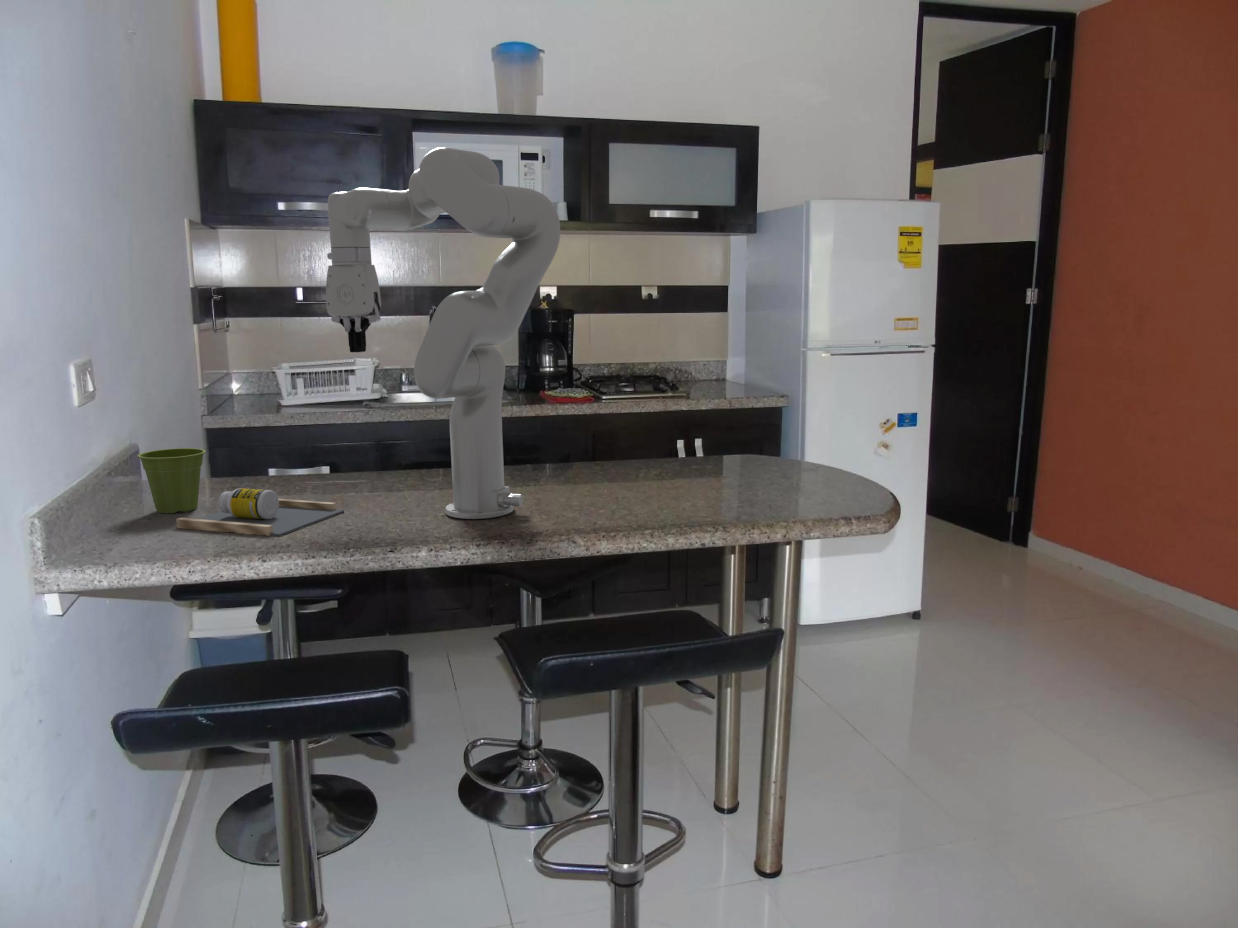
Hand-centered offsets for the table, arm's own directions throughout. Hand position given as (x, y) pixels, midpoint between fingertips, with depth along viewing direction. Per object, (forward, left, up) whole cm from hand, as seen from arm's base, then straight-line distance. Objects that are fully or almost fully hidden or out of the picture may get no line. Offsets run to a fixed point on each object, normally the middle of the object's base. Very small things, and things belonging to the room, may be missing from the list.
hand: (358, 351), depth 184 cm
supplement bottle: (+3, +25, -26) cm, 36 cm away
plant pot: (+28, +22, -29) cm, 46 cm away
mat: (+6, +24, -29) cm, 38 cm away
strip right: (+7, +15, -29) cm, 34 cm away
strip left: (+7, +33, -29) cm, 44 cm away
